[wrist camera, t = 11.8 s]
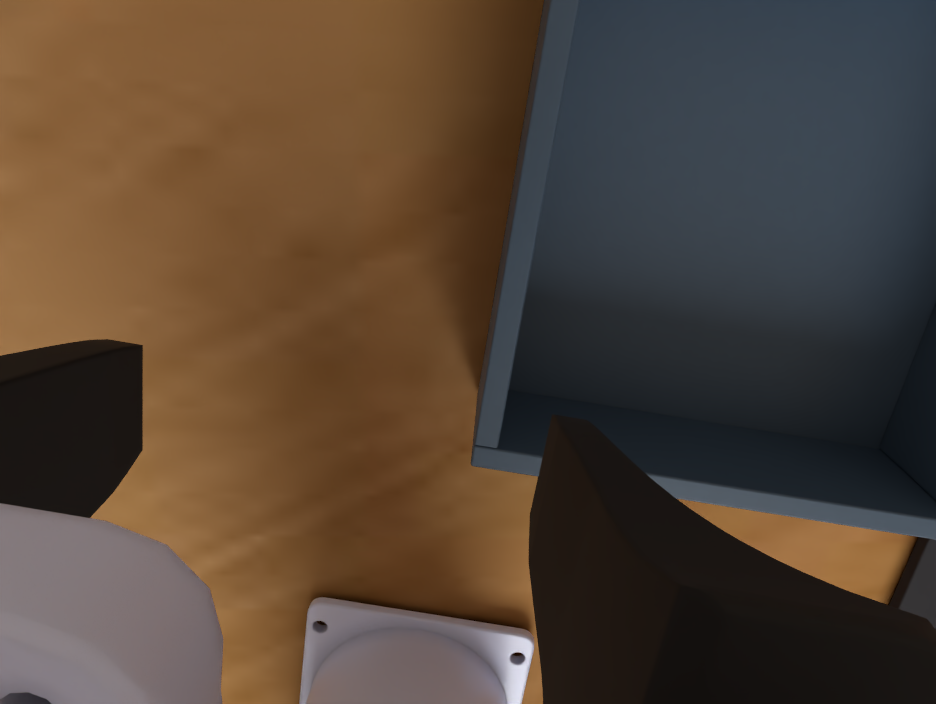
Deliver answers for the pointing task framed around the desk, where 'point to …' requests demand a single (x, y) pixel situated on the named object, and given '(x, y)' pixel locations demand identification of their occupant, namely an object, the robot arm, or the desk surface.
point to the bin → (728, 254)
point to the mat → (919, 582)
